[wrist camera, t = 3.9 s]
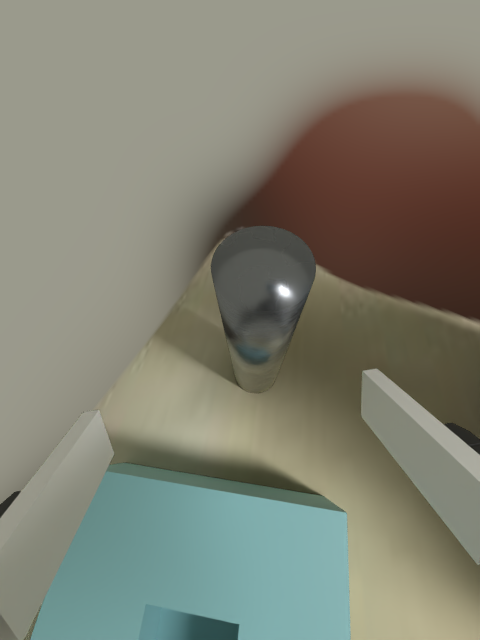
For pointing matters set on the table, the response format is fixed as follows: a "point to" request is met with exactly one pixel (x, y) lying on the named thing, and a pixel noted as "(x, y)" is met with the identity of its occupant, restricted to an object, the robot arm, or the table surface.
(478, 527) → the robot arm
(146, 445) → the table surface
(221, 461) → the table surface
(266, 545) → the socket block
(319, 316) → the table surface
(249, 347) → the pin
